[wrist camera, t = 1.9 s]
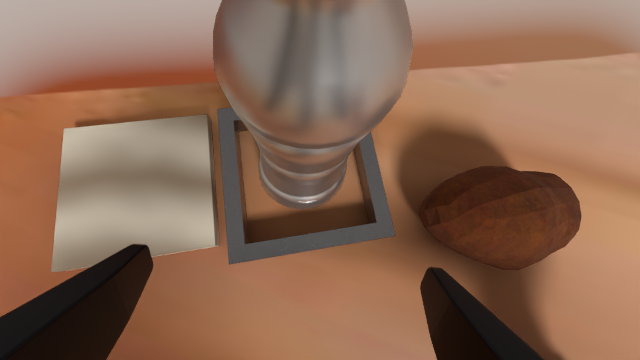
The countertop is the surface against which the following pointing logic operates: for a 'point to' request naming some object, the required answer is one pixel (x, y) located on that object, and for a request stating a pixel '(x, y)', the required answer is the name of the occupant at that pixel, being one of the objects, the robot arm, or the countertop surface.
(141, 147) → the board
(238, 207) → the collar
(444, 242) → the potato
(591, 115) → the countertop surface
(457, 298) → the robot arm
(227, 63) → the plastic bottle
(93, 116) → the countertop surface
